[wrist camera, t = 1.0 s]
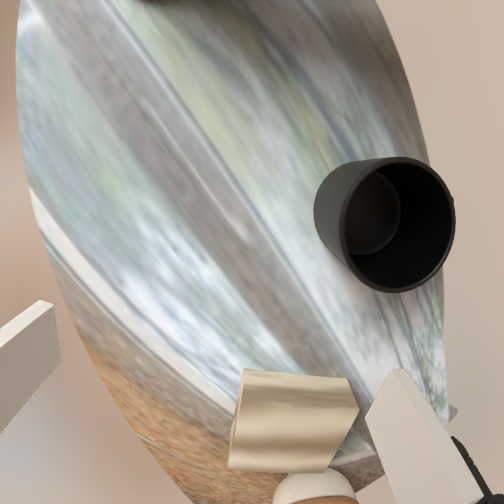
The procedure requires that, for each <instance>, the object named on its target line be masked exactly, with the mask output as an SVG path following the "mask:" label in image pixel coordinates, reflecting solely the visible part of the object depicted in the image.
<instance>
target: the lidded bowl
mask: <svg viewBox="0 0 504 504" xmlns="http://www.w3.org/2000/svg"><path fill="white" fill-rule="evenodd" d="M272 504H359V503H358V502H357V500H356V496H355V493H354V490H353V488H352V486H351V484H350V483H349V481H348V480H347V478H346V477H345V476H344V475H342V474H341V473H340V472H338V471H336V470H334V469H331V468H330V467H327V468H326V470H325V472H324V473H289V474H288V475H287V477H286V478H284V479H283V480H282V481H281V482H280V484H279V485H278V486H277V488H276V490H275V493H274V496H273V500H272Z"/></svg>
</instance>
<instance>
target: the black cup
mask: <svg viewBox="0 0 504 504" xmlns="http://www.w3.org/2000/svg"><path fill="white" fill-rule="evenodd" d="M455 219H456V218H455V209H454V199H453V197H452V196H451V194H450V192H449V190H448V188H447V186H446V184H445V183H444V181H443V180H442V179H441V177H440V176H439V175H438V174H437V173H436V172H435V171H434V170H433V169H432V168H430V167H429V166H428V165H426V164H425V163H423V162H420V161H418V160H416V159H412V158H408V157H390V158H381V159H372V160H363V161H356V162H350V163H347V164H344V165H342V166H340V167H338V168H336V169H335V170H334V171H332V172H331V173H330V174H329V175H328V176H327V177H326V178H325V179H324V181H323V182H322V184H321V186H320V187H319V190H318V192H317V194H316V198H315V202H314V221H315V226H316V229H317V232H318V234H319V236H320V238H321V240H322V241H323V243H324V244H325V245H326V246H327V248H328V249H329V250H330V251H331V252H332V253H333V254H334V255H335V256H336V257H337V258H338V259H339V260H340V261H341V262H342V263H343V264H344V265H345V266H346V267H347V268H348V269H349V270H350V271H351V272H352V273H353V274H354V275H355V276H356V277H357V278H358V279H359V280H360V281H361V282H362V283H364V284H365V285H367V286H369V287H370V288H373V289H375V290H377V291H381V292H386V293H401V292H406V291H410V290H413V289H415V288H417V287H419V286H421V285H423V284H424V283H425V282H427V281H428V280H429V279H431V278H432V277H433V276H434V275H435V274H436V273H437V271H438V270H439V269H440V268H441V267H442V265H443V263H444V262H445V260H446V258H447V256H448V254H449V252H450V250H451V247H452V243H453V240H454V234H455V224H456V221H455Z"/></svg>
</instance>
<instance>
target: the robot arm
mask: <svg viewBox="0 0 504 504" xmlns="http://www.w3.org/2000/svg"><path fill="white" fill-rule="evenodd" d="M60 362H61V355H60V349H59V343H58V335H57V328H56V319H55V309H54V305H53V304H50V303H48V302H45V301H42V300H39V301H38V302H37V303H35V304H33V305H32V306H31V307H29V308H28V309H26V310H25V311H24V312H22V313H21V314H19V315H18V316H17V317H15V318H14V319H13V320H11V321H10V322H9V323H7V324H6V325H4V326H3V327H2V328H1V329H0V434H1V433H2V431H3V430H4V429H5V428H6V426H7V425H8V424H9V422H10V421H11V420H12V419H13V417H14V416H15V415H16V414H17V413H18V411H19V410H20V409H21V408H22V406H23V405H24V404H25V403H26V402H27V400H28V399H29V398H30V397H31V396H32V394H33V393H34V392H35V391H36V390H37V388H38V387H39V386H40V385H41V384H42V383H43V381H44V380H45V379H46V378H47V377H48V376H49V375H50V374H51V372H52V371H53V370H54V369H55V368H56V367H57V366H58V365H59V363H60ZM365 421H366V423H367V426H368V429H369V431H370V434H371V436H372V439H373V442H374V444H375V447H376V449H377V452H378V455H379V457H380V460H381V463H382V466H383V468H384V471H385V474H386V476H387V479H388V482H389V485H390V487H391V490H392V493H393V496H394V499H395V502H396V504H504V495H503V494H495V495H493V494H492V493H491V491H490V490H489V488H488V486H487V484H486V483H485V481H484V479H483V477H482V476H481V474H480V472H479V471H478V469H477V467H476V465H473V463H474V462H473V460H472V459H471V457H469V454H468V452H467V451H466V449H465V447H464V446H463V444H462V443H460V442H459V441H458V440H457V439H456V438H455V437H454V436H452V437H450V436H449V434H448V433H447V431H446V430H445V428H444V426H443V425H442V423H441V421H440V420H439V418H438V417H437V415H436V414H435V412H434V410H433V409H432V407H431V406H430V404H429V403H428V401H427V400H426V398H425V397H424V395H423V394H422V392H421V391H420V389H419V388H418V386H417V385H416V383H415V382H414V380H413V379H412V377H411V376H410V374H409V373H408V371H407V370H406V369H390V371H389V373H388V375H387V377H386V379H385V381H384V383H383V385H382V387H381V389H380V391H379V393H378V395H377V397H376V399H375V401H374V402H373V404H372V406H371V408H370V410H369V411H368V413H367V415H366V417H365Z"/></svg>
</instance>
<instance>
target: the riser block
mask: <svg viewBox="0 0 504 504" xmlns="http://www.w3.org/2000/svg"><path fill="white" fill-rule="evenodd" d="M359 411H360V409H359V407H358V404H357V402H356V399H355V397H354V395H353V392H352V390H351V387H350V385H349V383H348V380H347V378H335V377H320V376H308V375H297V374H287V373H278V372H269V371H261V370H254V369H247V368H244V371H243V376H242V381H241V385H240V390H239V395H238V400H237V404H236V409H235V414H234V419H233V423H232V428H231V433H230V440H229V451H228V462H227V468H228V469H237V470H246V471H257V472H272V473H324V472H325V470H326V468H327V467H328V465H329V464H330V462H331V460H332V459H333V457H334V456H335V454H336V452H337V451H338V449H339V447H340V445H341V444H342V442H343V440H344V438H345V437H346V435H347V433H348V431H349V429H350V428H351V426H352V424H353V422H354V420H355V418H356V416H357V414H358V413H359Z"/></svg>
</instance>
